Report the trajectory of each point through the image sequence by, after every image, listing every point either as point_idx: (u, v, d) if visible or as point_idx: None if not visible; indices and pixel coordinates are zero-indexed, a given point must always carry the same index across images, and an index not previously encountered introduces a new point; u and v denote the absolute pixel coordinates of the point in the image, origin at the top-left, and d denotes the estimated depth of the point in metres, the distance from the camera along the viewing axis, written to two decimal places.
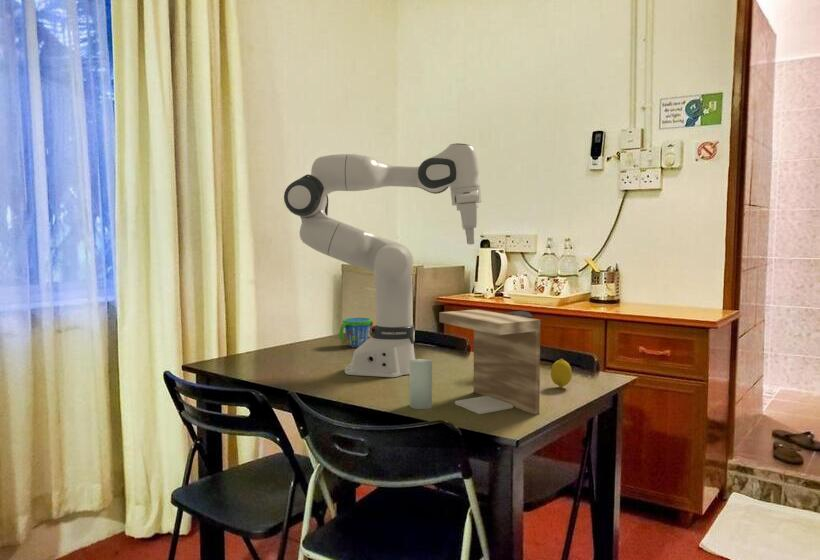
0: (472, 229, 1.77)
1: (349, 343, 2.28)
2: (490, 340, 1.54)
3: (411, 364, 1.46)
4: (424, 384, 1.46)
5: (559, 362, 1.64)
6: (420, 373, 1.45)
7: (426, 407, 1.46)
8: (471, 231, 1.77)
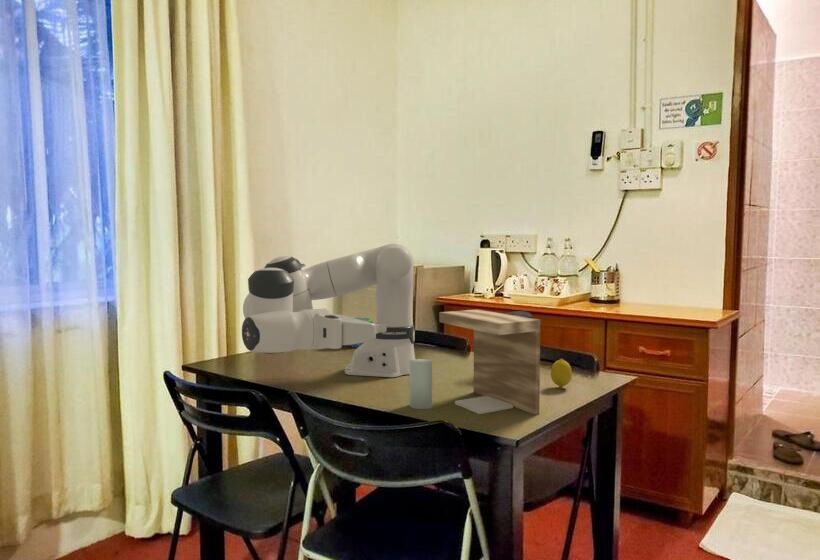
0: None
1: None
2: (490, 340, 1.54)
3: (411, 364, 1.46)
4: (424, 384, 1.46)
5: (559, 362, 1.64)
6: (420, 373, 1.45)
7: (426, 407, 1.46)
8: None
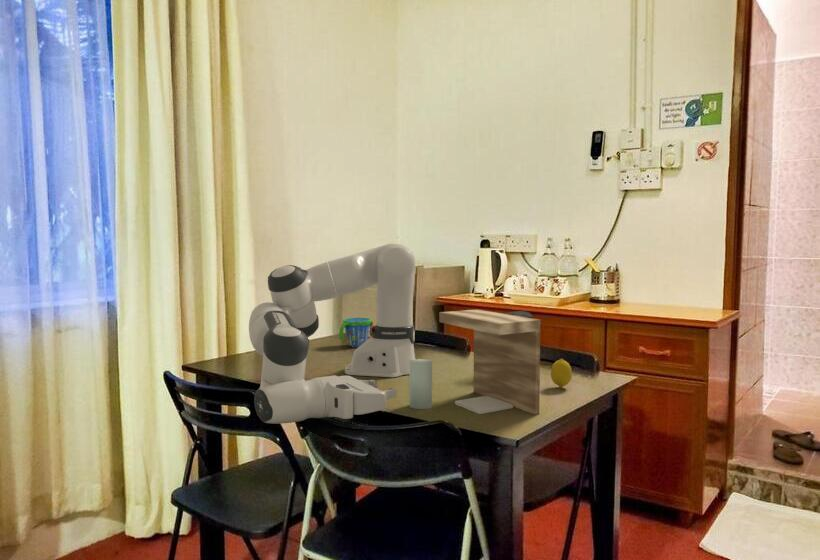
0: None
1: (349, 343, 2.28)
2: (490, 340, 1.54)
3: (411, 364, 1.46)
4: (424, 384, 1.46)
5: (559, 362, 1.64)
6: (420, 373, 1.45)
7: (426, 407, 1.46)
8: None
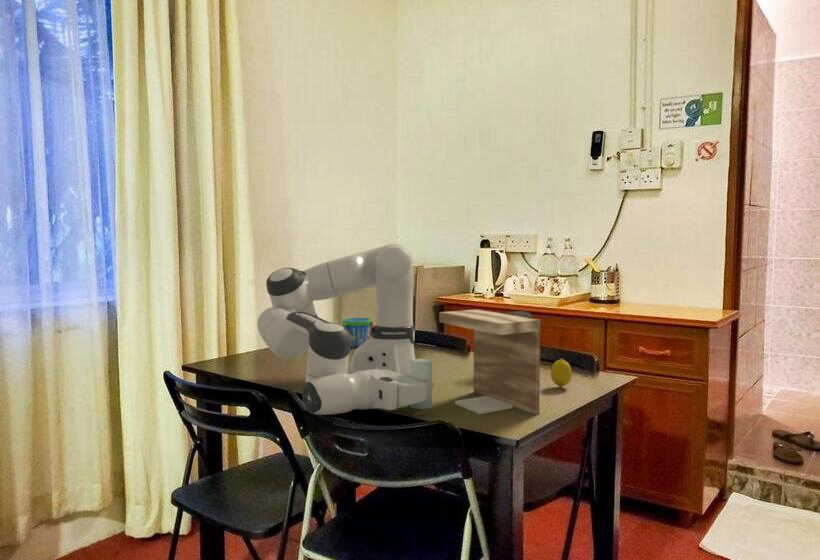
0: None
1: None
2: (490, 340, 1.54)
3: (411, 364, 1.46)
4: None
5: (559, 362, 1.64)
6: (420, 373, 1.45)
7: (426, 407, 1.46)
8: None
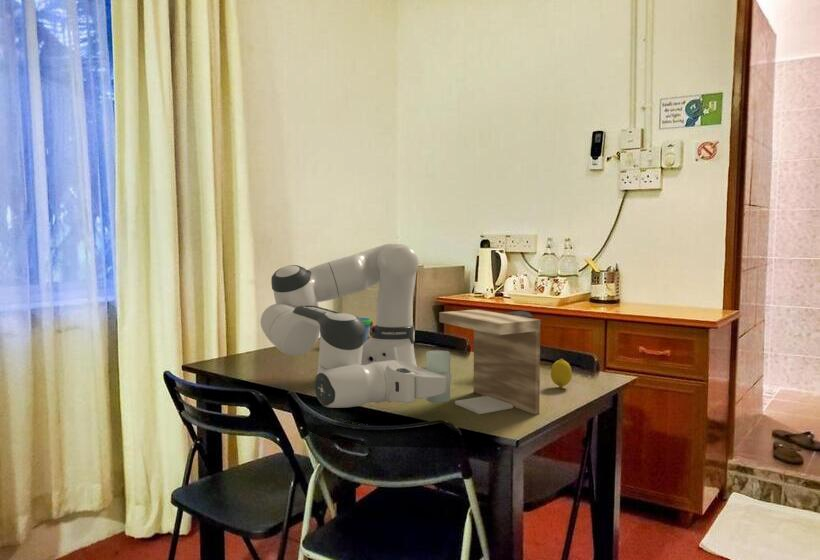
0: None
1: None
2: (490, 340, 1.54)
3: (428, 355, 1.39)
4: None
5: (559, 362, 1.64)
6: (438, 364, 1.38)
7: (444, 400, 1.39)
8: None
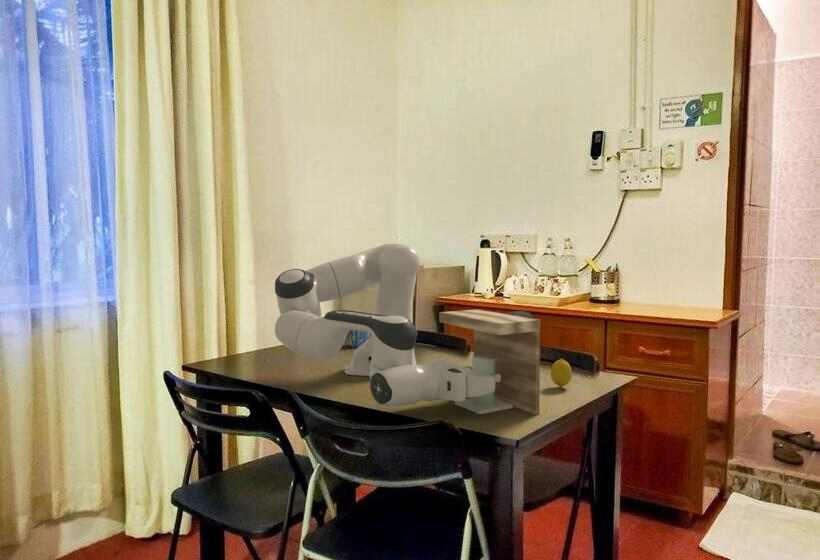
0: None
1: (349, 343, 2.28)
2: (490, 340, 1.54)
3: (475, 361, 1.46)
4: None
5: (559, 362, 1.64)
6: (484, 369, 1.45)
7: (490, 404, 1.46)
8: None
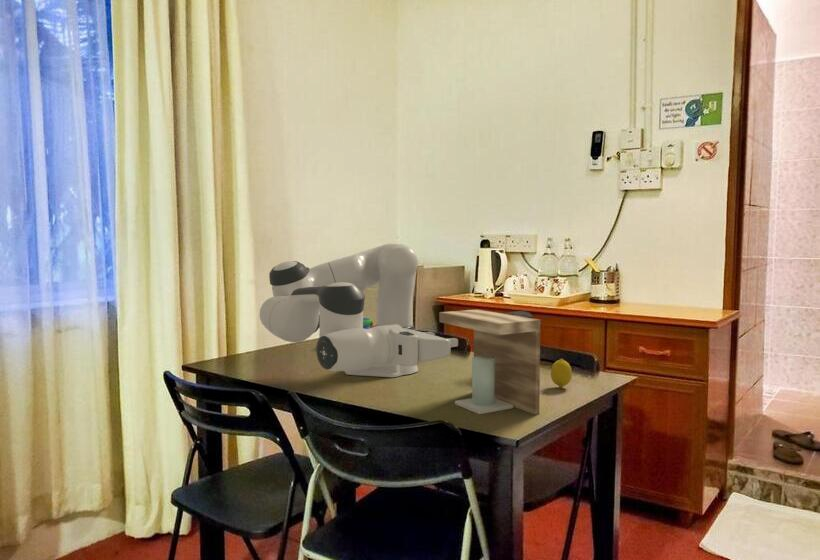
0: None
1: None
2: (490, 340, 1.54)
3: (474, 361, 1.46)
4: (488, 380, 1.45)
5: (559, 362, 1.64)
6: (484, 369, 1.45)
7: (490, 404, 1.46)
8: None
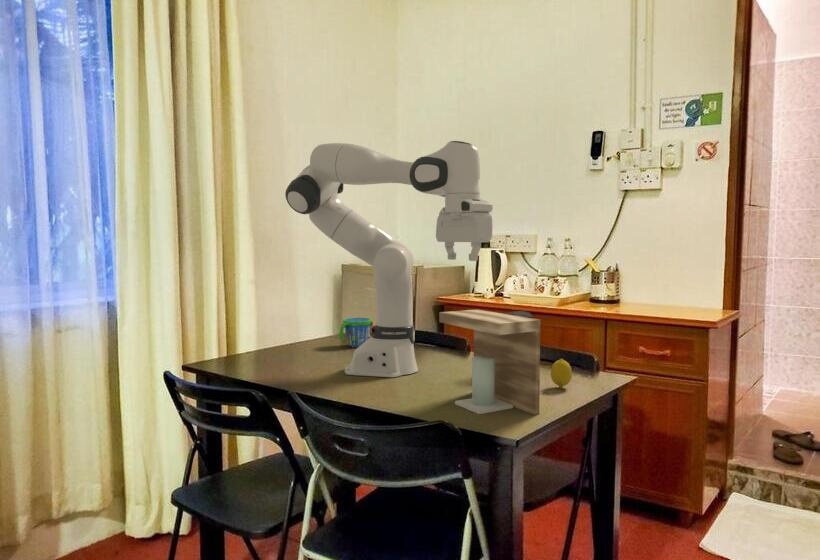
0: (480, 243, 1.51)
1: (349, 343, 2.28)
2: (490, 340, 1.54)
3: (474, 361, 1.46)
4: (488, 381, 1.45)
5: (559, 362, 1.64)
6: (483, 369, 1.45)
7: (489, 404, 1.46)
8: (478, 245, 1.50)
